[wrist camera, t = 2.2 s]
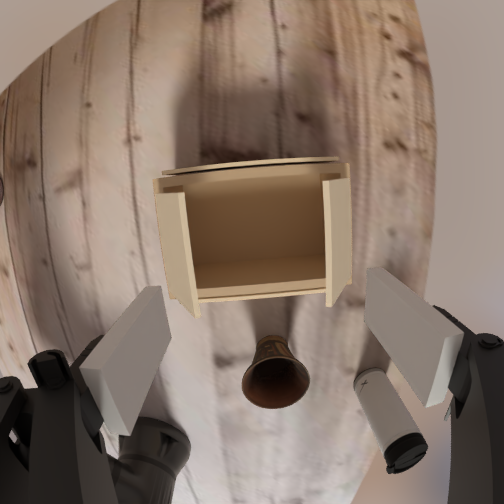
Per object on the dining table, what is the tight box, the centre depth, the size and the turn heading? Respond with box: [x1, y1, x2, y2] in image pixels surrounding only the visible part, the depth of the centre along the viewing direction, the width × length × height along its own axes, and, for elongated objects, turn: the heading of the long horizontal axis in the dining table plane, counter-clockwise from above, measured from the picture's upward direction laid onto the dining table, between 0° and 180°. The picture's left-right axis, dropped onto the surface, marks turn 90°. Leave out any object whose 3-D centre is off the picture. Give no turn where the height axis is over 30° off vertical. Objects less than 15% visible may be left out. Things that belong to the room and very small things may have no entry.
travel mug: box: [354, 368, 428, 474], centre depth 38 cm, size 6×7×20 cm
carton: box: [153, 157, 352, 304], centre depth 35 cm, size 20×14×10 cm
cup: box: [242, 335, 310, 409], centre depth 41 cm, size 9×9×10 cm
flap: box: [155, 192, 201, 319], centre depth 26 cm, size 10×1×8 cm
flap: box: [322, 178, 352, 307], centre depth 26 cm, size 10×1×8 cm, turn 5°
